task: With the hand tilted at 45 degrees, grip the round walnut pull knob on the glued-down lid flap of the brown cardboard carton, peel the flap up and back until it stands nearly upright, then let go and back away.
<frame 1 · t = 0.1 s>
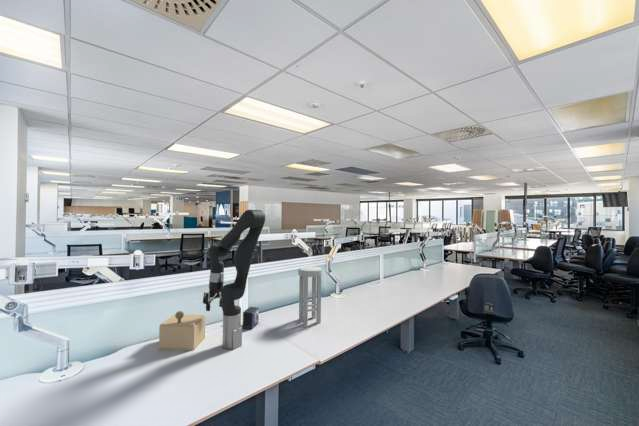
hand: (214, 308, 155), 17 cm above the table, tool pointing down, fingers open, 8 cm apart
small box: (250, 326, 175), on the table
lid flap: (183, 314, 150), point 16 cm above the table, hinge at 0.0°
stool: (309, 321, 185), on the table
carton: (183, 343, 150), on the table
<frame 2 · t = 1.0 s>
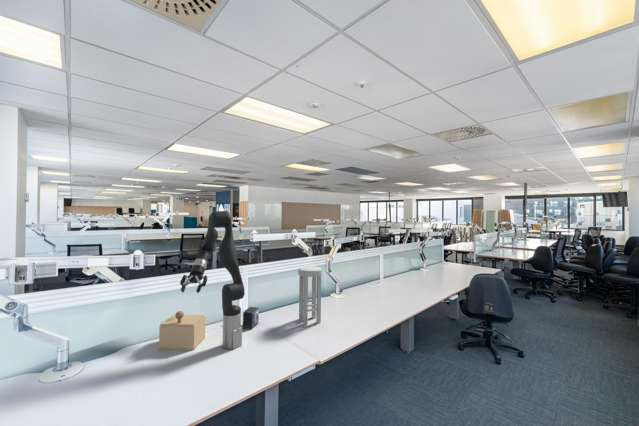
hand: (189, 291, 158), 26 cm above the table, tool tilted 45°, fingers open, 8 cm apart
nothing on the table moved.
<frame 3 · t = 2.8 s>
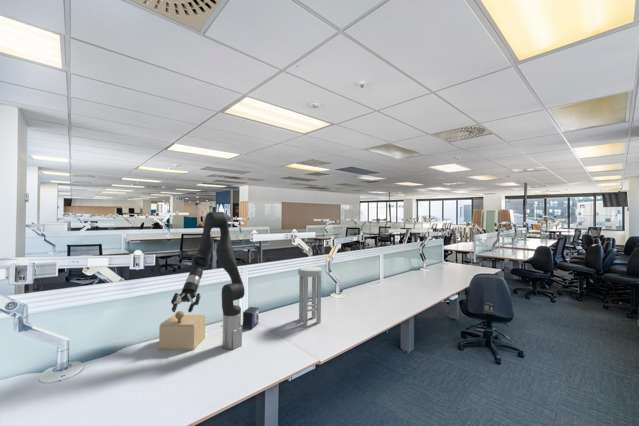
hand: (181, 311, 148), 18 cm above the table, tool tilted 45°, fingers open, 8 cm apart
nothing on the table moved.
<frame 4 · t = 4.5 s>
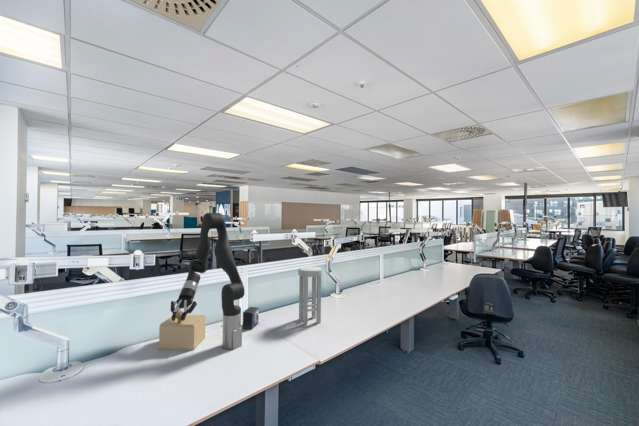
hand: (177, 320, 144), 15 cm above the table, tool tilted 45°, fingers closed on lid flap, 4 cm apart
lid flap: (183, 314, 150), point 16 cm above the table, hinge at -0.1°, touching gripper
everything else where it was.
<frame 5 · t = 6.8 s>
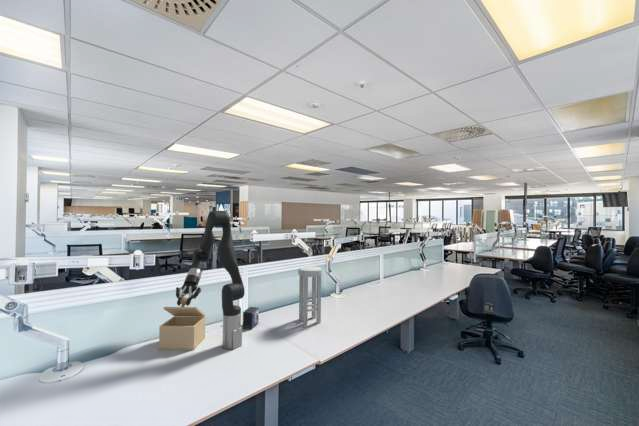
hand: (182, 304, 149), 21 cm above the table, tool tilted 45°, fingers closed on lid flap, 4 cm apart
lid flap: (186, 306, 154), point 19 cm above the table, hinge at 35.2°, touching gripper
everything else where it was.
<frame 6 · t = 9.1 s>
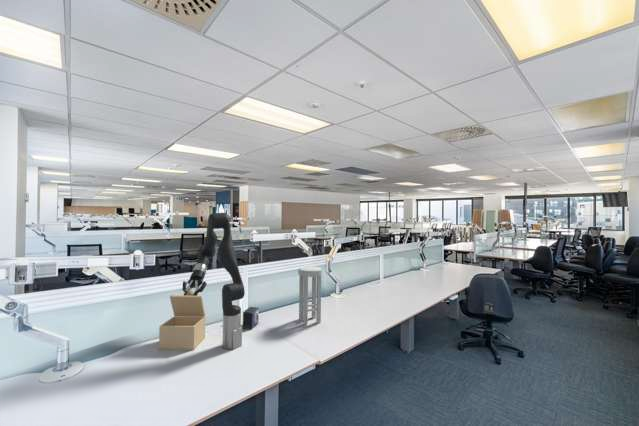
hand: (189, 297, 157), 23 cm above the table, tool tilted 45°, fingers open, 4 cm apart
lid flap: (190, 302, 158), point 20 cm above the table, hinge at 66.6°
everything else where it was.
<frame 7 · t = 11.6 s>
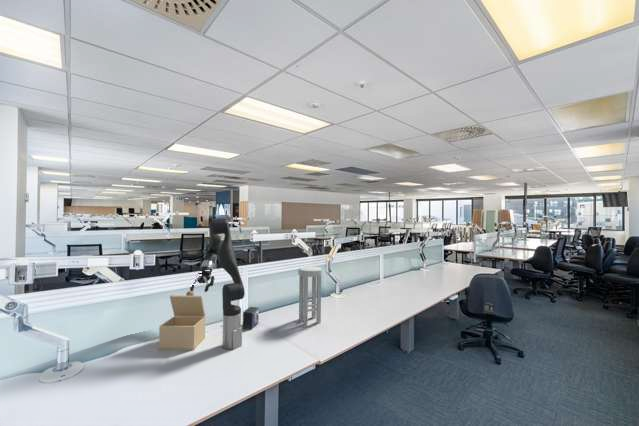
hand: (198, 291, 169), 23 cm above the table, tool tilted 45°, fingers open, 8 cm apart
nothing on the table moved.
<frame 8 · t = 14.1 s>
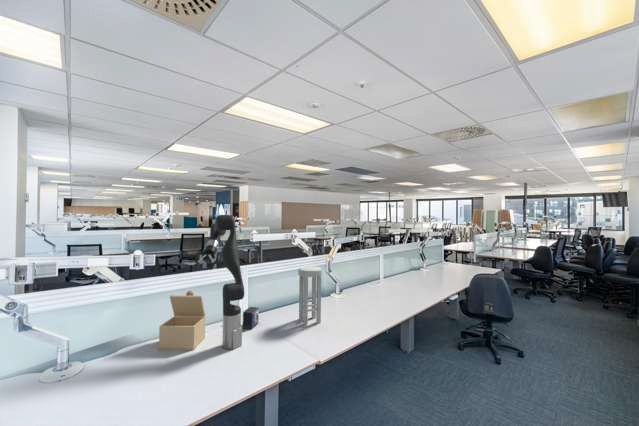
hand: (204, 268, 171), 37 cm above the table, tool tilted 45°, fingers open, 8 cm apart
nothing on the table moved.
at the end: lid flap at +67° (first picture: +0°); the gripper is holding nothing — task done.
